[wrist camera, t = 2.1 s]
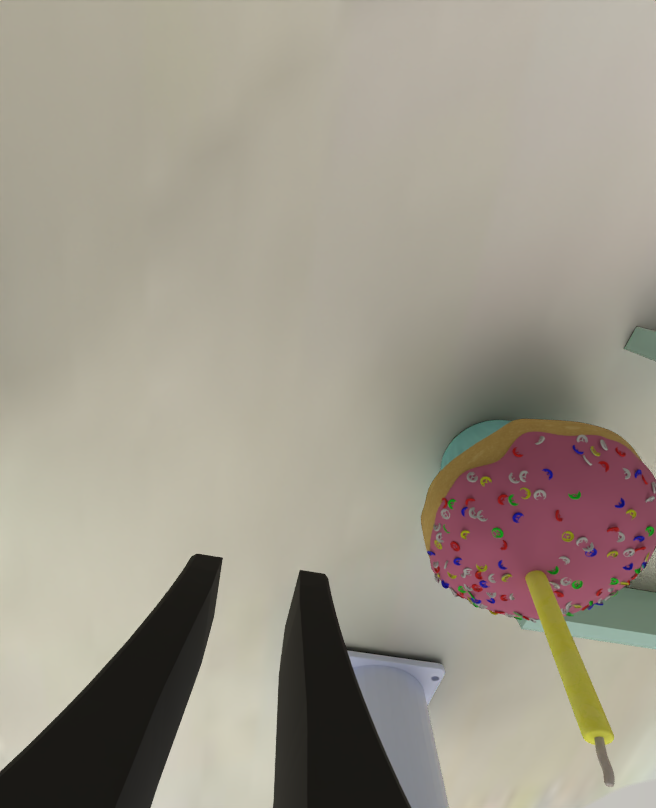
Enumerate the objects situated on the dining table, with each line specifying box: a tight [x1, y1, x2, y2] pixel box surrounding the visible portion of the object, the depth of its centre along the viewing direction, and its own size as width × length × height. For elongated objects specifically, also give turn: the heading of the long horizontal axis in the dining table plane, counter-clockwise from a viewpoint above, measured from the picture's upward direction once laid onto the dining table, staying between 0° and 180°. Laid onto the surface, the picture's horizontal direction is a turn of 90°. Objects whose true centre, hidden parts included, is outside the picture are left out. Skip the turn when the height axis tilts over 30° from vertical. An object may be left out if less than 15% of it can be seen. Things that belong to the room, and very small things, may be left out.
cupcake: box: [421, 419, 656, 787], centre depth 13 cm, size 9×8×12 cm
